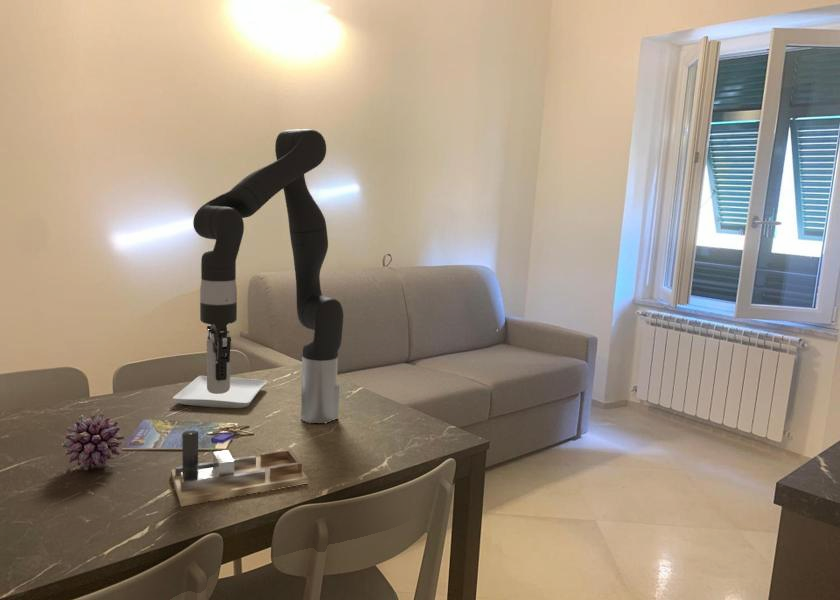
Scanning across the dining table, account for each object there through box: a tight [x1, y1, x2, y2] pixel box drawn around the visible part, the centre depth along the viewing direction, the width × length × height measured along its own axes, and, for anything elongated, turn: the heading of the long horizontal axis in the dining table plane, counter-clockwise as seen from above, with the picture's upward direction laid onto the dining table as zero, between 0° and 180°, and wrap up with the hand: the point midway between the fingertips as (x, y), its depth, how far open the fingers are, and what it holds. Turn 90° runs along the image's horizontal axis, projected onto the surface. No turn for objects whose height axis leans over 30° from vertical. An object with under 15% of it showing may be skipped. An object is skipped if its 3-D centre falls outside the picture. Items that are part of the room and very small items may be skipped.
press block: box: [181, 430, 234, 482], centre depth 129 cm, size 10×6×10 cm, turn 118°
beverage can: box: [206, 336, 231, 394], centre depth 140 cm, size 5×5×12 cm
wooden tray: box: [170, 448, 309, 507], centre depth 133 cm, size 25×14×4 cm, turn 118°
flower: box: [60, 412, 125, 471], centre depth 134 cm, size 12×12×12 cm
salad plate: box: [172, 375, 268, 409], centre depth 183 cm, size 21×21×3 cm
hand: (218, 376), depth 140 cm, fingers closed on beverage can, 4 cm apart
